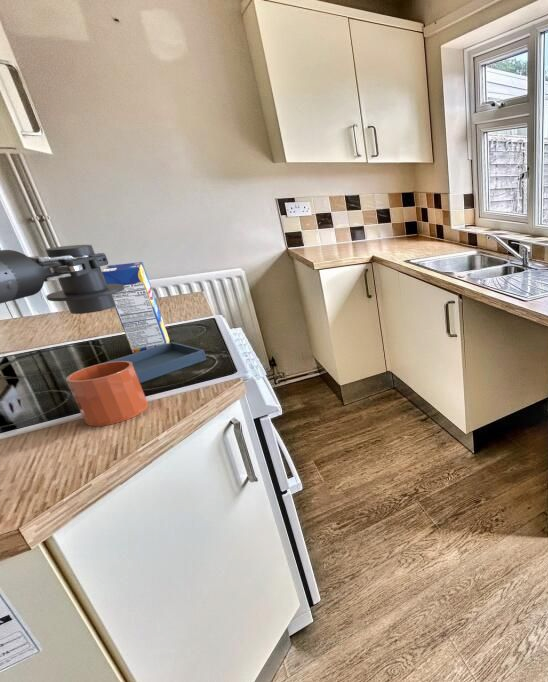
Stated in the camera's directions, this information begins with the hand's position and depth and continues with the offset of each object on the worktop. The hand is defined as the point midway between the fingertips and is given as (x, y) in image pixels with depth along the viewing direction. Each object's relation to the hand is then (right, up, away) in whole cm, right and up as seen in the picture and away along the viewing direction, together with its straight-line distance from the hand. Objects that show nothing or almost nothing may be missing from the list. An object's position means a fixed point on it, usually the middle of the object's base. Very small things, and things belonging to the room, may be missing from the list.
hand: (86, 259), depth 79 cm
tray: (-6, -22, +20) cm, 31 cm away
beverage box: (-16, -18, +33) cm, 41 cm away
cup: (+5, -29, +1) cm, 30 cm away
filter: (0, -9, +1) cm, 9 cm away
